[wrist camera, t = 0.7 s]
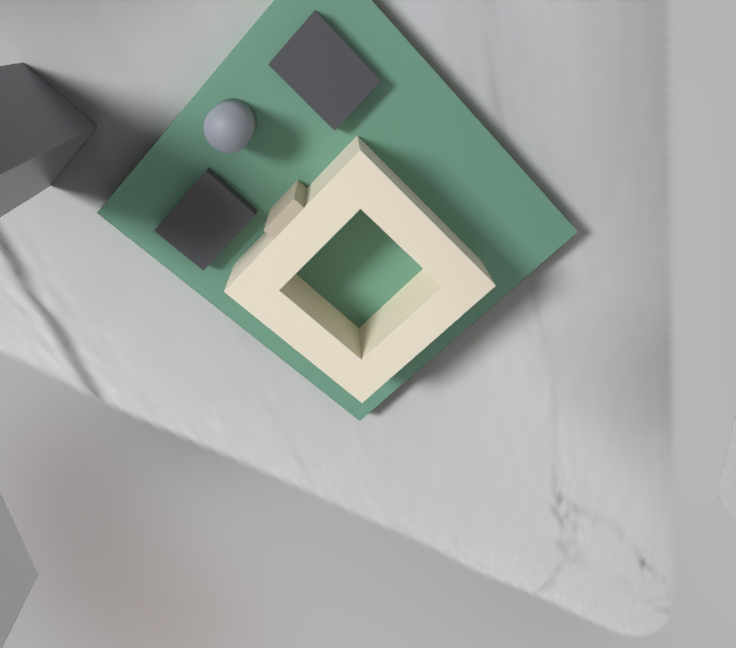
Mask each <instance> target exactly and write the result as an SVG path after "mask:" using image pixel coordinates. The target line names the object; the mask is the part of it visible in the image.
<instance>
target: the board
mask: <svg viewBox="0 0 736 648" xmlns="http://www.w3.org/2000/svg"><path fill="white" fill-rule="evenodd" d="M97 213H98V214H99V215H101V216H102V217H103V218H104V219H106V220H107V221H108V222H109V223H111V224H112V225H113V226H114V227H116V228H117V229H118V230H119V231H121V232H122V233H123V234H125V235H126V236H127V237H128V238H130V239H131V240H132V241H133V242H135V243H136V244H137V245H138V246H140V247H141V248H142V249H143V250H145V251H146V252H147V253H149V254H150V255H151V256H152V257H154V258H155V259H156V260H157V261H159V262H160V263H161V264H162V265H164V266H165V267H166V268H167V269H169V270H170V271H171V272H172V273H174V274H175V275H176V276H178V277H179V278H180V279H181V280H183V281H184V282H185V283H186V284H188V285H189V286H190V287H191V288H193V289H194V290H195V291H196V292H198V293H199V294H200V295H202V296H203V297H204V298H205V299H207V300H208V301H209V302H210V303H212V304H213V305H214V306H215V307H217V308H218V309H219V310H220V311H222V312H223V313H224V314H226V315H227V316H228V317H229V318H231V319H232V320H233V321H234V322H236V323H237V324H238V325H239V326H241V327H242V328H243V329H244V330H246V331H247V332H248V333H250V334H251V335H252V336H253V337H255V338H256V339H257V340H258V341H260V342H261V343H262V344H263V345H265V346H266V347H267V348H268V349H270V350H271V351H272V352H274V353H275V354H276V355H277V356H279V357H280V358H281V359H282V360H284V361H285V362H286V363H287V364H289V365H290V366H291V367H292V368H294V369H295V370H296V371H297V372H299V373H300V374H301V375H303V376H304V377H305V378H306V379H308V380H309V381H310V382H311V383H313V384H314V385H315V386H316V387H318V388H319V389H320V390H321V391H323V392H324V393H325V394H327V395H328V396H329V397H330V398H332V399H333V400H334V401H335V402H337V403H338V404H339V405H340V406H342V407H343V408H344V409H345V410H347V411H348V412H349V413H351V414H352V415H353V416H354V417H356V418H357V419H358V420H359V421H360V420H361V419H363V418H364V417H365V416H366V415H367V414H368V413H370V412H371V411H372V410H373V409H374V408H375V407H376V406H378V405H379V404H380V403H381V402H382V401H383V400H384V399H386V398H387V397H388V396H389V395H390V394H391V393H393V392H394V391H395V390H396V389H397V388H398V387H399V386H401V385H402V384H403V383H404V382H405V381H406V380H408V379H409V378H410V377H411V376H412V375H413V374H414V373H416V372H417V371H418V370H419V369H420V368H421V367H423V366H424V365H425V364H426V363H427V362H428V361H429V360H431V359H432V358H433V357H434V356H435V355H436V354H438V353H439V352H440V351H441V350H442V349H443V348H444V347H446V346H447V345H448V344H449V343H450V342H451V341H452V340H454V339H455V338H456V337H457V336H458V335H459V334H461V333H462V332H463V331H464V330H465V329H466V328H467V327H469V326H470V325H471V324H472V323H473V322H474V321H476V320H477V319H478V318H479V317H480V316H481V315H482V314H484V313H485V312H486V311H487V310H488V309H489V308H491V307H492V306H493V305H494V304H495V303H496V302H497V301H499V300H500V299H501V298H502V297H503V296H504V295H505V294H507V293H508V292H509V291H510V290H511V289H512V288H514V287H515V286H516V285H517V284H518V283H519V282H520V281H522V280H523V279H524V278H525V277H526V276H527V275H529V274H530V273H531V272H532V271H533V270H534V269H535V268H537V267H538V266H539V265H540V264H541V263H542V262H544V261H545V260H546V259H547V258H548V257H549V256H550V255H552V254H553V253H554V252H555V251H556V250H557V249H559V248H560V247H561V246H562V245H563V244H564V243H565V242H567V241H568V240H569V239H570V238H571V237H572V236H573V235H575V234H576V233H577V232H578V231H577V230H576V229H575V228H574V227H573V226H572V225H571V224H570V222H569V221H568V220H567V219H566V218H565V217H564V216H563V215H562V213H561V212H560V211H559V210H558V209H557V208H556V207H555V206H554V204H553V203H552V202H551V201H550V200H549V199H548V198H547V197H546V196H545V194H544V193H543V192H542V191H541V190H540V189H539V188H538V187H537V185H536V184H535V183H534V182H533V181H532V180H531V179H530V178H529V176H528V175H527V174H526V173H525V172H524V171H523V170H522V169H521V167H520V166H519V165H518V164H517V163H516V162H515V161H514V160H513V158H512V157H511V156H510V155H509V154H508V153H507V152H506V151H505V149H504V148H503V147H502V146H501V145H500V144H499V143H498V142H497V140H496V139H495V138H494V137H493V136H492V135H491V134H490V133H489V131H488V130H487V129H486V128H485V127H484V126H483V125H482V124H481V123H480V121H479V120H478V119H477V118H476V117H475V116H474V115H473V114H472V112H471V111H470V110H469V109H468V108H467V107H466V106H465V105H464V103H463V102H462V101H461V100H460V99H459V98H458V97H457V96H456V94H455V93H454V92H453V91H452V90H451V89H450V88H449V87H448V85H447V84H446V83H445V82H444V81H443V80H442V79H441V78H440V76H439V75H438V74H437V73H436V72H435V71H434V70H433V69H432V67H431V66H430V65H429V64H428V63H427V62H426V61H425V60H424V58H423V57H422V56H421V55H420V54H419V53H418V52H417V51H416V50H415V48H414V47H413V46H412V45H411V44H410V43H409V42H408V41H407V39H406V38H405V37H404V36H403V35H402V34H401V33H400V32H399V30H398V29H397V28H396V27H395V26H394V25H393V24H392V23H391V21H390V20H389V19H388V18H387V17H386V16H385V15H384V14H383V12H382V11H381V10H380V9H379V8H378V7H377V6H376V5H375V3H374V2H373V1H372V0H274V1H273V3H272V4H271V5H270V6H269V7H268V9H267V10H266V11H265V12H264V13H263V15H262V16H261V17H260V18H259V19H258V20H257V22H256V23H255V24H254V25H253V26H252V28H251V29H250V30H249V31H248V32H247V34H246V35H245V36H244V37H243V38H242V40H241V41H240V42H239V43H238V44H237V46H236V47H235V48H234V49H233V50H232V52H231V53H230V54H229V55H228V56H227V58H226V59H225V60H224V61H223V62H222V64H221V65H220V66H219V67H218V68H217V70H216V71H215V72H214V73H213V74H212V76H211V77H210V78H209V79H208V80H207V82H206V83H205V84H204V85H203V86H202V88H201V89H200V90H199V91H198V92H197V94H196V95H195V96H194V97H193V98H192V100H191V101H190V102H189V103H188V104H187V106H186V107H185V108H184V109H183V110H182V112H181V113H180V114H179V115H178V116H177V118H176V119H175V120H174V121H173V122H172V124H171V125H170V126H169V127H168V128H167V130H166V131H165V132H164V133H163V134H162V136H161V137H160V138H159V139H158V140H157V142H156V143H155V144H154V145H153V146H152V148H151V149H150V150H149V151H148V152H147V154H146V155H145V156H144V157H143V158H142V160H141V161H140V162H139V163H138V164H137V166H136V167H135V168H134V169H133V170H132V172H131V173H130V174H129V175H128V176H127V178H126V179H125V180H124V181H123V182H122V184H121V185H120V186H119V187H118V188H117V190H116V191H115V192H114V193H113V194H112V196H111V197H110V198H109V199H108V200H107V201H106V203H105V204H104V205H103V206H102V207H101V209H100V210H99V211H98V212H97Z"/></svg>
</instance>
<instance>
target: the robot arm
mask: <svg viewBox="0 0 736 648" xmlns="http://www.w3.org/2000/svg"><path fill="white" fill-rule="evenodd" d="M718 498H719V499H720V501H721V502H722V503H723V505H724V506H725V507H726V508H727V510H728V511H729V512H730V514H731V515H732V516H733V517H734V519H735V520H736V416H735V420H734V425H733V429H732V434H731V439H730V443H729V448H728V452H727V457H726V461H725V466H724V470H723V475H722V479H721V484H720V489H719V493H718ZM37 576H38V572H37V570H36V568H35V566H34V564H33V561H32V559H31V557H30V555H29V553H28V551H27V549H26V546H25V544H24V542H23V540H22V538H21V536H20V534H19V532H18V529H17V527H16V525H15V523H14V521H13V519H12V516H11V514H10V512H9V510H8V508H7V506H6V504H5V501H4V499H3V497H2V495H1V493H0V648H2V647H3V644H4V643H5V641H6V639H7V637H8V634H9V633H10V631H11V629H12V627H13V625H14V623H15V621H16V619H17V617H18V615H19V612H20V611H21V608H22V607H23V604H24V602H25V600H26V598H27V596H28V594H29V592H30V590H31V588H32V586H33V584H34V582H35V580H36V578H37Z"/></svg>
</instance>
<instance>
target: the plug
mask: <svg viewBox="0 0 736 648" xmlns="http://www.w3.org/2000/svg"><path fill="white" fill-rule="evenodd" d="M96 127H97V125H96V124H95V123H93V122H92V121H91V120H90V119H89V118H87V117H86V116H85V115H84V114H83V113H82V112H80V111H79V110H78V109H77V108H76V107H74V106H73V105H72V104H71V103H70V102H69V101H67V100H66V99H65V98H64V97H63V96H61V95H60V94H59V93H58V92H57V91H56V90H54V89H53V88H52V87H51V86H50V85H48V84H47V83H46V82H45V81H44V80H43V79H41V78H40V77H39V76H38V75H37V74H35V73H34V72H33V71H32V70H31V69H30V68H28V67H27V66H26V65H25V64H24V63H18V64H12V65H6V66H0V217H1V216H3V215H4V214H6V213H8V212H9V211H11V210H12V209H14V208H16V207H17V206H19V205H20V204H22V203H24V202H25V201H27V200H28V199H30V198H32V197H33V196H35V195H36V194H38V193H40V192H41V191H43V190H44V189H46V188H48V187H49V186H51V184H52V183H53V182H54V181H55V179H56V178H57V177H58V176H59V174H60V173H61V172H62V170H63V169H64V168H65V167H66V165H67V164H68V163H69V162H70V160H71V159H72V158H73V157H74V155H75V154H76V153H77V151H78V150H79V149H80V148H81V146H82V145H83V144H84V143H85V141H86V140H87V139H88V138H89V136H90V135H91V134H92V133H93V131H94V130H95V129H96Z"/></svg>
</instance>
